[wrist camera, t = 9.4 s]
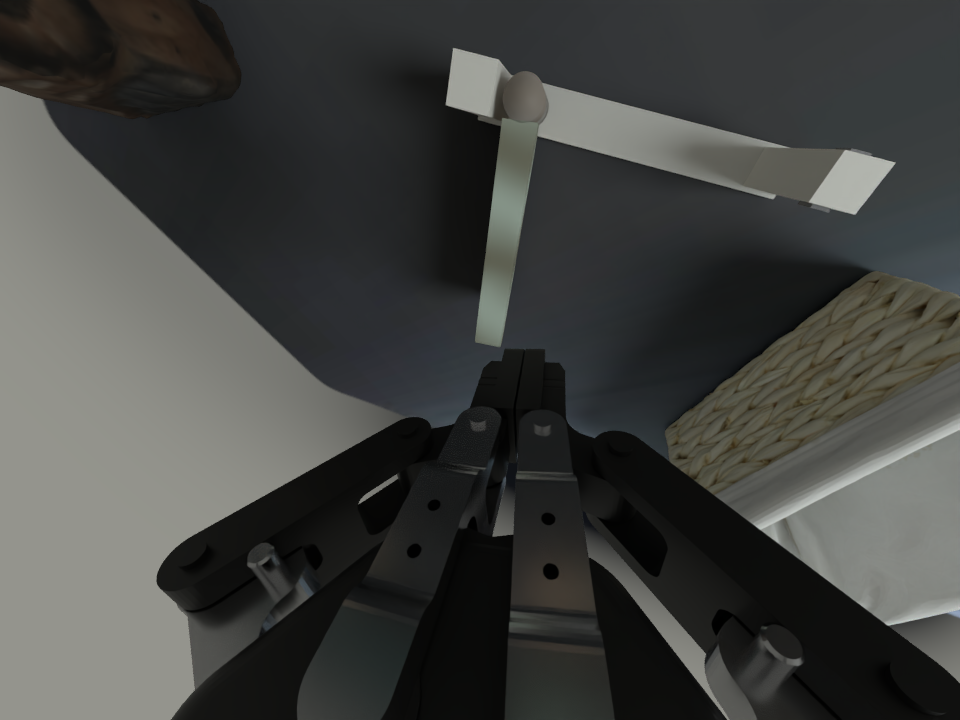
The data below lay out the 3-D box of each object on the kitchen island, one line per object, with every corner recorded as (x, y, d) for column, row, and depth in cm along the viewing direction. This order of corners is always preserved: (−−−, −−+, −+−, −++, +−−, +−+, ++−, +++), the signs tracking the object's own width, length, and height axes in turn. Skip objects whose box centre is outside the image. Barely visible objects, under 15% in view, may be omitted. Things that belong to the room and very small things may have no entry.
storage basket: (754, 495, 41) (836, 648, 28) (640, 430, 39) (675, 563, 27) (1023, 348, 28) (1390, 513, 15) (869, 240, 26) (1142, 329, 14)
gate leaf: (519, 86, 24) (506, 68, 18) (551, 90, 24) (548, 73, 18) (489, 306, 33) (473, 341, 27) (512, 310, 33) (501, 347, 27)
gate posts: (477, 120, 27) (444, 111, 19) (486, 70, 25) (454, 40, 18) (766, 197, 26) (850, 220, 18) (795, 151, 24) (901, 155, 17)
